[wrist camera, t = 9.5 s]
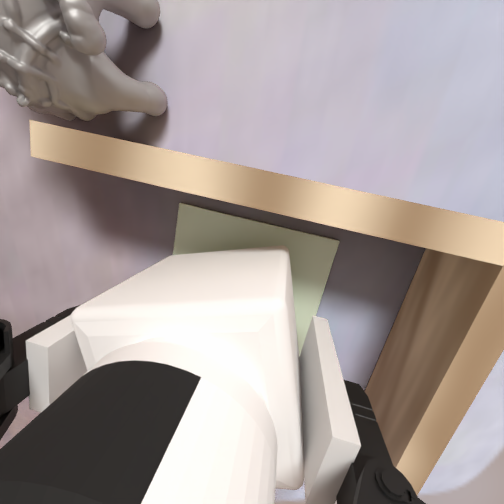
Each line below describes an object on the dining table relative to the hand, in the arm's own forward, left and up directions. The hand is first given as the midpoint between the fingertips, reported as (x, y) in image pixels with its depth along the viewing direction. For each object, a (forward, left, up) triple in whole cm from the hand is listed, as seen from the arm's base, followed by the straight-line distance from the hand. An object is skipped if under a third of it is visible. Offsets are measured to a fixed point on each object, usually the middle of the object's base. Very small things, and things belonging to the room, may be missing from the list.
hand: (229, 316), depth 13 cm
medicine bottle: (0, 0, -2) cm, 2 cm away
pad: (0, 0, -3) cm, 3 cm away
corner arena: (0, -1, -3) cm, 3 cm away
